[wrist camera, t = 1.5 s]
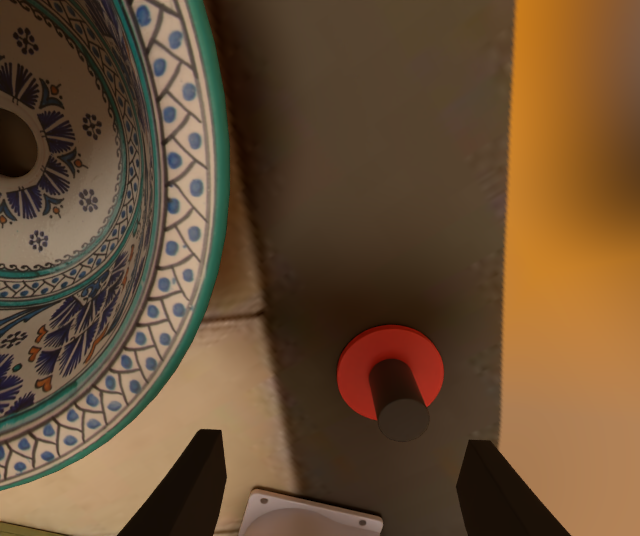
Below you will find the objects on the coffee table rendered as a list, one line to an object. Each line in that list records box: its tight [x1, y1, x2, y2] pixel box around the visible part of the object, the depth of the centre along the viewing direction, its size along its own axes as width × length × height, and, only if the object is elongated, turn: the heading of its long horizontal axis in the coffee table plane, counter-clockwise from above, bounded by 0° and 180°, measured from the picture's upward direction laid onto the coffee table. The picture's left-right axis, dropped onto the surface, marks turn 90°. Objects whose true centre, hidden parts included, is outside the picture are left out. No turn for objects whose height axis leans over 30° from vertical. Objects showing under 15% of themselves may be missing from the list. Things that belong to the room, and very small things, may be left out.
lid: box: [337, 325, 444, 442], centre depth 21 cm, size 6×6×4 cm
